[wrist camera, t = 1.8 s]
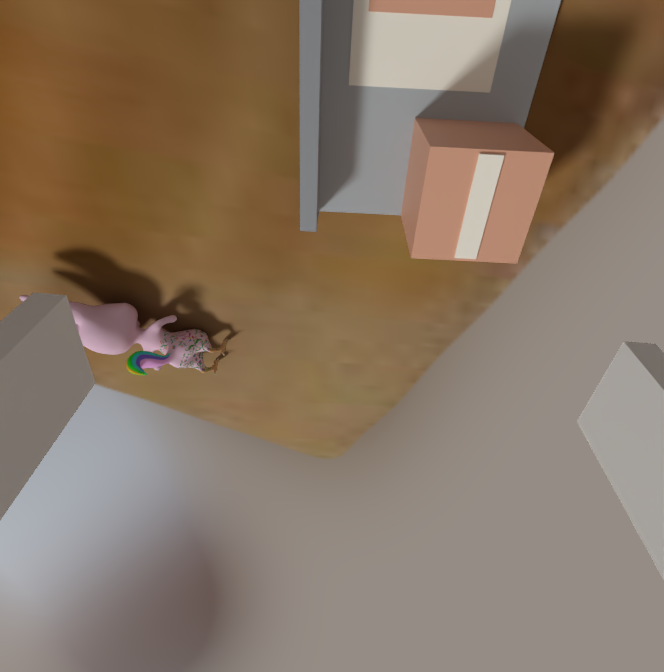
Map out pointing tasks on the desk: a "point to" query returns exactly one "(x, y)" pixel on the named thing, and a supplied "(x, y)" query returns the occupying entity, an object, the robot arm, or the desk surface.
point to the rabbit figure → (140, 338)
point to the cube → (471, 189)
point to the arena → (404, 87)
